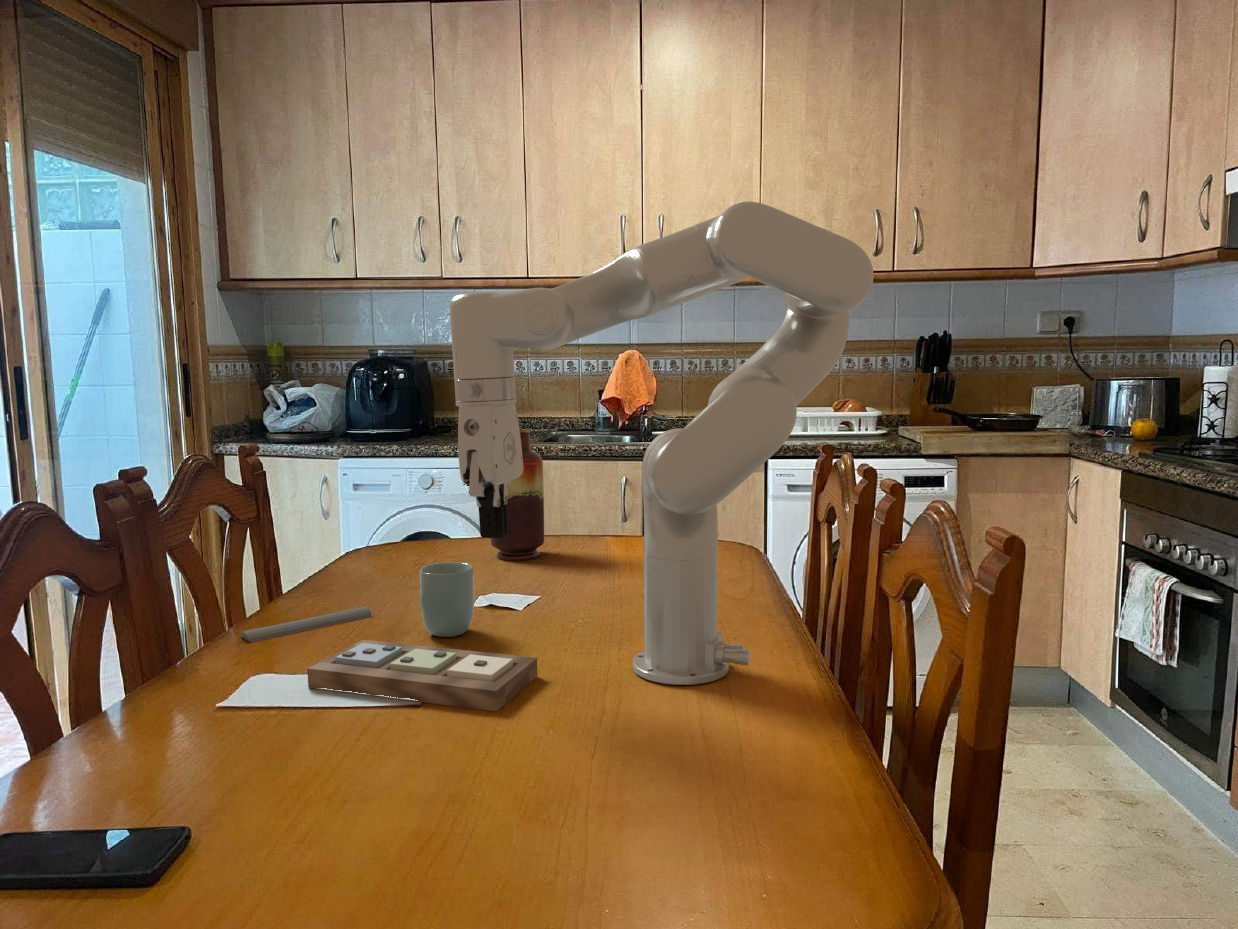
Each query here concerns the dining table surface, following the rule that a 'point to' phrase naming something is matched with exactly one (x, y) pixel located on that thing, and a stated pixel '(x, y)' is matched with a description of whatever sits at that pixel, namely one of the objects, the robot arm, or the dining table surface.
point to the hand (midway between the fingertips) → (494, 536)
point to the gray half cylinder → (305, 624)
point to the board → (425, 680)
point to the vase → (524, 509)
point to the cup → (447, 598)
